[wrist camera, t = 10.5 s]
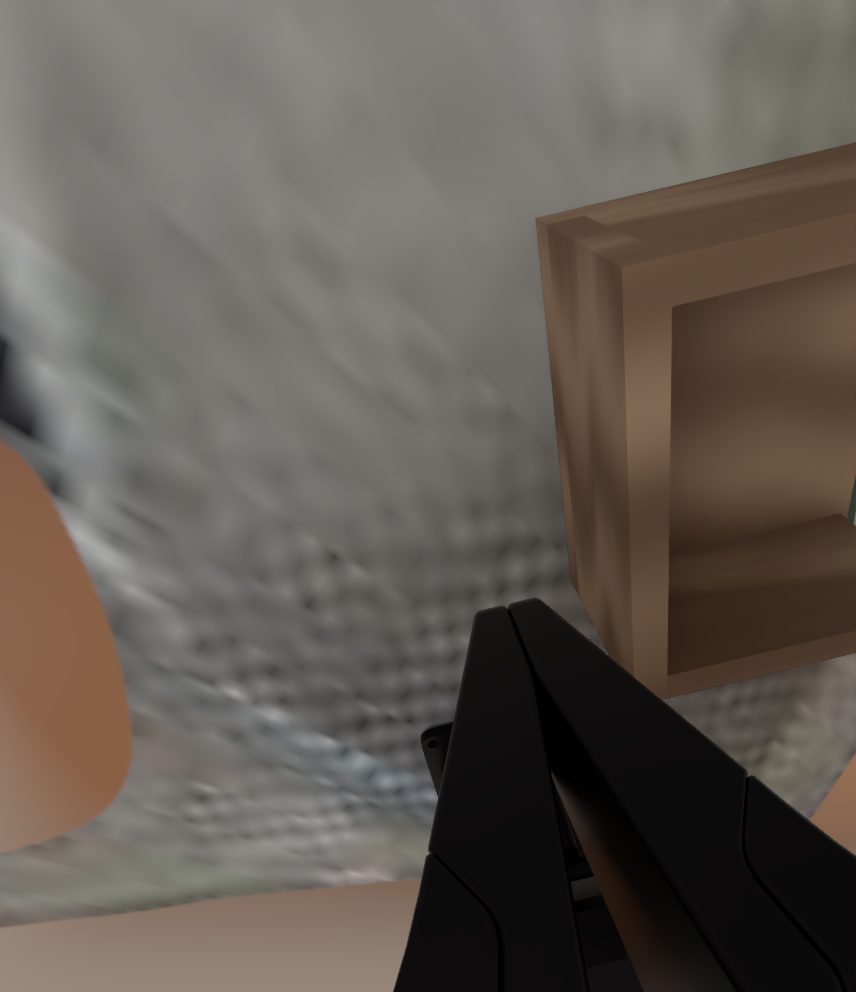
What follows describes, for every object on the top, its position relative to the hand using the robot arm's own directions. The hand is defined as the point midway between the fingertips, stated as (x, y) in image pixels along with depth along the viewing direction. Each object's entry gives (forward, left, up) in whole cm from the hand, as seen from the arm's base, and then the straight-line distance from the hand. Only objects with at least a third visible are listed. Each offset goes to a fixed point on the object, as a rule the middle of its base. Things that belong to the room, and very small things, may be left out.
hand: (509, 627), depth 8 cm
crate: (-4, -9, -12) cm, 16 cm away
